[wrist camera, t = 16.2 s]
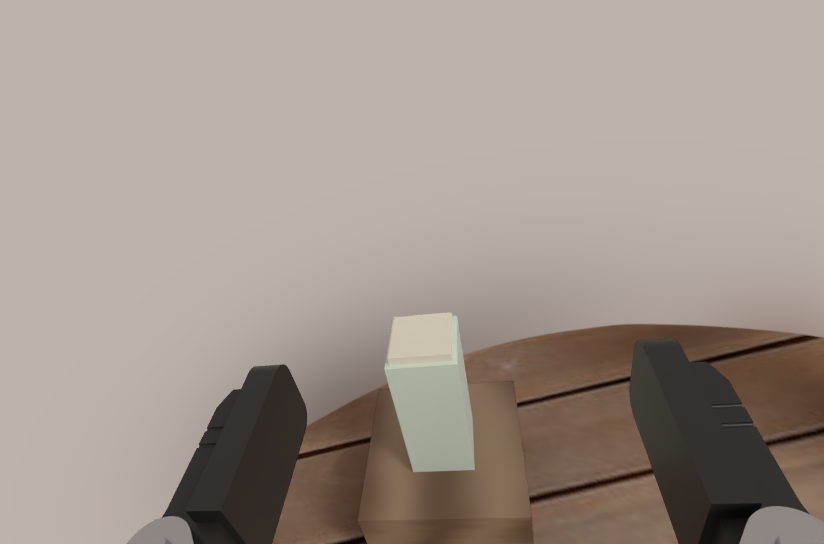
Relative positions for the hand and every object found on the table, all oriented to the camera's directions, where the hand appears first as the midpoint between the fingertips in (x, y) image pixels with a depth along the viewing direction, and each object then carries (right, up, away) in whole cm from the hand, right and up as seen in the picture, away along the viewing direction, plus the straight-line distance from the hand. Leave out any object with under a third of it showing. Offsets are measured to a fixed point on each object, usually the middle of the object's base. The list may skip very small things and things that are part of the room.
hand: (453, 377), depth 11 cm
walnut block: (+3, -16, +30) cm, 34 cm away
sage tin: (+2, -11, +27) cm, 29 cm away
